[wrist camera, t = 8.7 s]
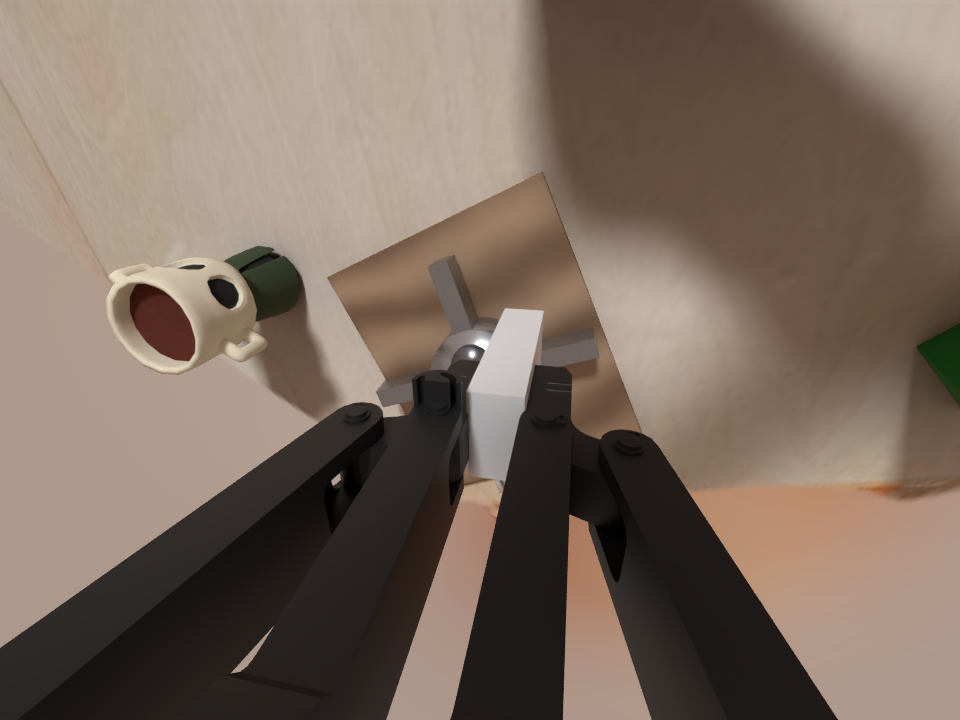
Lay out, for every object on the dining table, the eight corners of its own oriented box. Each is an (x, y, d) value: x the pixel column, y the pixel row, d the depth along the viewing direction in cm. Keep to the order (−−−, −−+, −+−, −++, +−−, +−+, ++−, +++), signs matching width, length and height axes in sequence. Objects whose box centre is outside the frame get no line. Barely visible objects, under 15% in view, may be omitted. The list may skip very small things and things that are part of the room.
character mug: (337, 281, 39) (239, 333, 28) (309, 340, 43) (211, 408, 31) (231, 211, 39) (85, 235, 27) (211, 276, 42) (72, 322, 30)
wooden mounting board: (333, 274, 39) (308, 286, 35) (542, 171, 32) (538, 173, 29) (451, 480, 47) (440, 508, 43) (641, 431, 40) (648, 460, 36)
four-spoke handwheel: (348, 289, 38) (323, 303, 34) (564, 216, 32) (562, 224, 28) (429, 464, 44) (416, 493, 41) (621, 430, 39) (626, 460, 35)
